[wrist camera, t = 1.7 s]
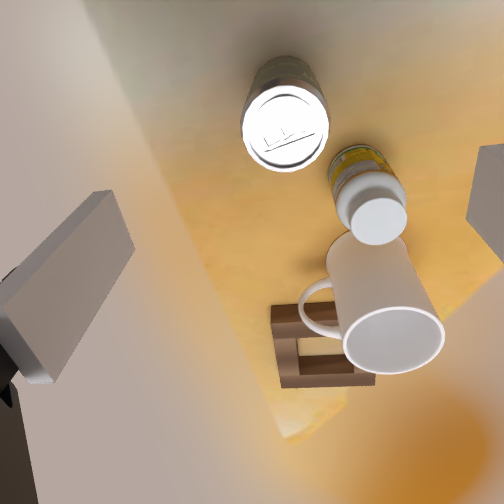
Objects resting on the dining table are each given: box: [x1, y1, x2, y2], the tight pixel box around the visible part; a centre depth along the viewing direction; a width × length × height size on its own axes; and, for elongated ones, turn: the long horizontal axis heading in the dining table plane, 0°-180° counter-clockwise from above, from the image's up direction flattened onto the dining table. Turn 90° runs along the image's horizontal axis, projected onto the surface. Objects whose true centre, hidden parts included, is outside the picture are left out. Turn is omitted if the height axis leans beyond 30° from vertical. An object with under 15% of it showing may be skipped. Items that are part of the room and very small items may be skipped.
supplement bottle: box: [328, 145, 407, 245], centre depth 30 cm, size 5×5×10 cm
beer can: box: [240, 56, 331, 172], centre depth 26 cm, size 5×5×12 cm
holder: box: [271, 302, 376, 388], centre depth 46 cm, size 12×12×3 cm
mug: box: [298, 230, 445, 374], centre depth 35 cm, size 12×8×12 cm
